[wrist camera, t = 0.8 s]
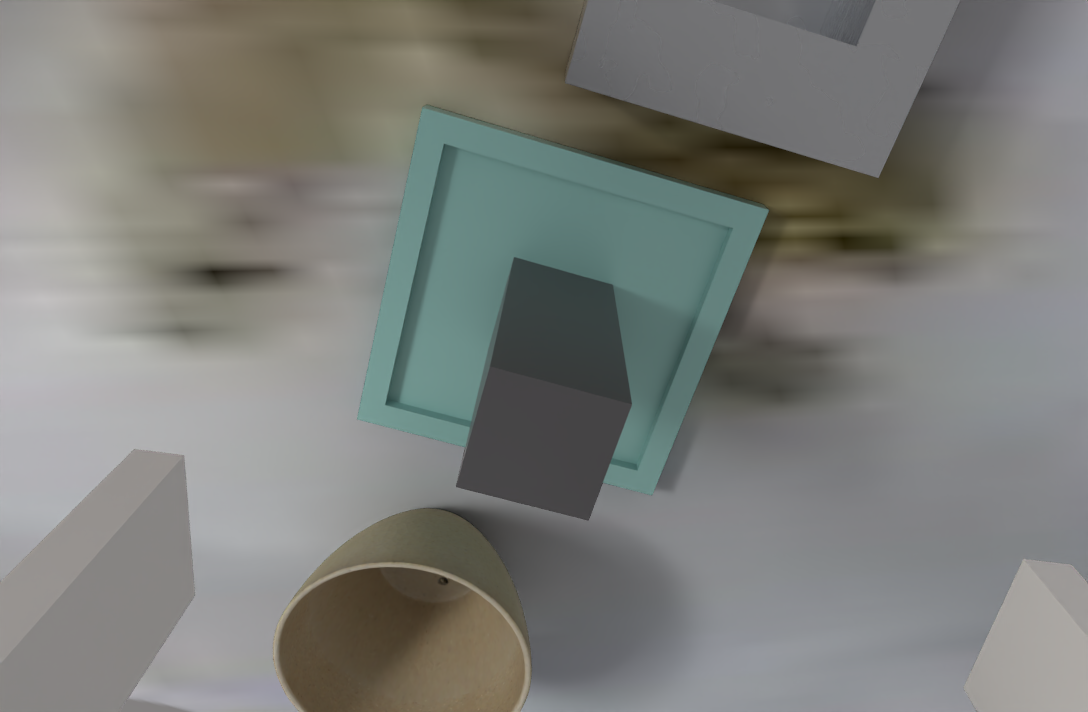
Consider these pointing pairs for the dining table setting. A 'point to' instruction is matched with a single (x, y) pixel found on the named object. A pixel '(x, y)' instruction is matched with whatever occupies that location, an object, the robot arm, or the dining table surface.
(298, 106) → the dining table surface
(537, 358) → the plug
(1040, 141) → the dining table surface
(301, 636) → the flower pot
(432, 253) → the tray
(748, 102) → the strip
